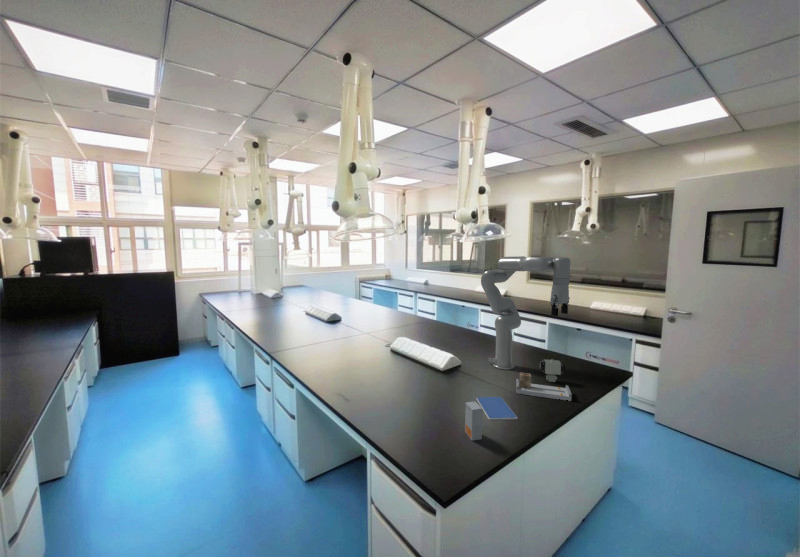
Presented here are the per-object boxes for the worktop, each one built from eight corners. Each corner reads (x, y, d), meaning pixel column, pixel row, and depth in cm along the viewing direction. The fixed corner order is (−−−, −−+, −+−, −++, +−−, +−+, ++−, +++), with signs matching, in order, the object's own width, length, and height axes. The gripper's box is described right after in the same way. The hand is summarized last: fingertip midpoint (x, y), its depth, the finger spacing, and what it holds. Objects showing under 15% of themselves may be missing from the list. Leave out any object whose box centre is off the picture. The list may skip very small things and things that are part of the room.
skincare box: (464, 432, 121) (465, 402, 120) (474, 430, 122) (475, 400, 121) (471, 441, 115) (472, 409, 114) (482, 439, 116) (483, 408, 115)
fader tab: (519, 386, 157) (520, 374, 157) (519, 383, 161) (520, 372, 160) (530, 388, 156) (531, 376, 155) (530, 385, 159) (530, 373, 158)
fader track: (516, 393, 155) (516, 386, 155) (516, 385, 164) (516, 378, 164) (571, 401, 147) (571, 393, 147) (567, 392, 156) (567, 385, 156)
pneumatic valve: (564, 383, 166) (565, 361, 165) (540, 381, 169) (541, 359, 168) (561, 379, 172) (562, 358, 171) (538, 377, 175) (539, 356, 174)
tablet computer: (518, 420, 131) (518, 417, 131) (488, 421, 130) (488, 418, 130) (501, 399, 150) (501, 396, 150) (475, 399, 149) (475, 396, 149)
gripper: (562, 280, 169) (560, 311, 171) (545, 281, 159) (543, 315, 161) (576, 281, 163) (575, 313, 165) (559, 283, 153) (558, 317, 155)
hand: (559, 314), depth 163 cm, fingers open, 9 cm apart
